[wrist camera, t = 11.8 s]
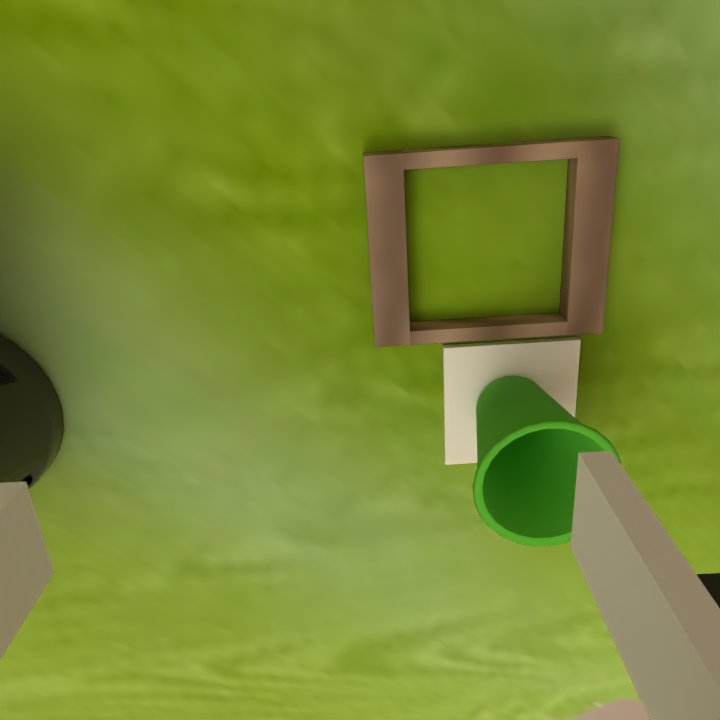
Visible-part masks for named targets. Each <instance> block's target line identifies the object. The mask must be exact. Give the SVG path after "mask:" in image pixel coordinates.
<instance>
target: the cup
mask: <svg viewBox="0 0 720 720" xmlns="http://www.w3.org/2000/svg"><path fill="white" fill-rule="evenodd" d="M476 431H477V465H478V468H477V470H476V473H475V478H474V483H473V495H474V503H475V505H476V508H477V510H478V513H479V515H480V516H481V518H482V519H483V520H484V521H485V523H486V524H487V525H488V527H490V528H491V529H492V530H494V531H495V532H496V533H498V534H499V535H500V536H502V537H504V538H506V539H508V540H511V541H513V542H516V543H518V544H524V545H529V546H553V545H557V544H562V543H567V542H570V541H571V535H572V523H573V512H574V500H575V488H576V477H577V465H578V453H581V452H600V451H612V452H613V454H614V455H615V457H616V458H617V460H618V461H619V463H620V464H621V462H620V459H619V455H618V453H617V452H616V450H615V449H614V447H613V446H612V444H611V442H610V441H609V440H608V439H606V438H605V437H604V436H603V435H602V434H600V433H599V432H598V431H597V430H595V429H592V428H590V427H588V426H586V425H584V424H582V423H580V422H579V421H578V420H577V419H576V418H575V417H573V416H572V415H571V414H570V413H569V412H568V411H567V410H566V409H564V408H563V407H562V406H561V405H560V404H559V403H558V402H556V401H555V400H554V399H553V398H552V397H551V396H550V395H549V394H547V393H546V392H545V391H544V390H543V389H542V388H541V387H540V386H538V385H537V384H536V383H535V382H534V381H532V380H530V379H528V378H525V377H520V376H506V377H502V378H499V379H497V380H495V381H493V382H491V383H490V384H489V385H488V386H486V388H485V389H484V390H483V391H482V393H481V394H480V396H479V398H478V400H477V405H476Z"/></svg>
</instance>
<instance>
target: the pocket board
mask: <svg viewBox="0 0 720 720" xmlns="http://www.w3.org/2000/svg"><path fill="white" fill-rule="evenodd" d="M618 148H619V138H615V137H610V136H602V137H587V138H573V139H558V140H544V141H529V142H514V143H500V144H485V145H471V146H456V147H442V148H427V149H413V150H398V151H384V152H369V153H363V157H364V174H365V190H366V206H367V223H368V239H369V255H370V272H371V288H372V305H373V321H374V337H375V347H382V346H399V345H415V344H431V343H447V342H464V341H480V340H496V339H513V338H529V337H545V336H561V335H578V334H594V333H602V331H603V320H604V308H605V297H606V285H607V274H608V262H609V251H610V240H611V228H612V217H613V205H614V194H615V182H616V171H617V159H618ZM554 159H568V172H567V189H566V206H565V223H564V240H563V257H562V274H561V291H560V308H559V313H543V314H527V315H511V316H495V317H479V318H463V319H446V320H430V321H414V322H409V296H408V270H407V244H406V217H405V191H404V170H408V169H422V168H437V167H452V166H466V165H481V164H496V163H510V162H525V161H540V160H554Z"/></svg>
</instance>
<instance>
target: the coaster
mask: <svg viewBox="0 0 720 720" xmlns="http://www.w3.org/2000/svg"><path fill="white" fill-rule="evenodd" d="M580 343H581V340H580V338H579V337H568V338H551V339H535V340H519V341H502V342H486V343H470V344H453V345H443V402H444V461H445V465H448V464H465V463H477V431H476V405H477V400H478V398H479V396H480V394H481V393H482V391H483V390H484V389H485V388H486V386H488V385H489V384H490V383H491V382H493V381H495V380H497V379H499V378H502V377H506V376H520V377H525V378H528V379H530V380H532V381H534V382H535V383H536V384H537V385H538V386H540V387H541V388H542V389H543V390H544V391H545V392H546V393H547V394H549V395H550V396H551V397H552V398H553V399H554V400H555V401H556V402H558V403H559V404H560V405H561V406H562V407H563V408H564V409H566V410H567V411H568V412H569V413H570V414H571V415H572V416H573V417H575V411H576V398H577V384H578V371H579V357H580Z"/></svg>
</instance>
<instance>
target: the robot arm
mask: <svg viewBox="0 0 720 720" xmlns="http://www.w3.org/2000/svg"><path fill="white" fill-rule="evenodd" d="M62 433H63V420H62V413H61V409H60V405H59V402H58V399H57V396H56V394H55V392H54V389H53V387H52V386H51V384H50V382H49V380H48V379H47V377H46V376H45V374H44V373H43V372H42V371H41V369H40V368H39V367H38V366H37V365H36V363H35V362H34V361H33V360H32V359H31V358H30V357H29V356H28V355H27V354H25V353H24V352H23V351H22V350H21V349H19V348H18V347H17V346H16V345H14V344H13V343H11V342H10V341H8V340H7V339H5V338H3V337H2V336H0V659H1V658H2V656H3V654H4V653H5V651H6V650H7V648H8V646H9V645H10V643H11V642H12V640H13V638H14V637H15V635H16V634H17V632H18V630H19V629H20V627H21V625H22V624H23V622H24V621H25V619H26V617H27V616H28V614H29V613H30V611H31V609H32V608H33V606H34V605H35V603H36V601H37V600H38V598H39V596H40V595H41V593H42V592H43V590H44V588H45V587H46V585H47V584H48V582H49V580H50V579H51V577H52V576H53V574H54V570H53V566H52V563H51V560H50V557H49V554H48V550H47V547H46V544H45V541H44V538H43V534H42V531H41V528H40V525H39V521H38V518H37V515H36V512H35V509H34V505H33V502H32V499H31V496H30V493H29V489H30V488H31V487H32V486H33V485H34V484H35V483H36V482H37V481H38V480H39V478H40V477H41V476H42V475H43V474H44V472H45V471H46V470H47V469H48V467H49V466H50V465H51V464H52V462H53V460H54V459H55V457H56V455H57V453H58V450H59V448H60V444H61V440H62ZM571 549H572V552H573V554H574V556H575V558H576V560H577V562H578V565H579V567H580V569H581V571H582V573H583V576H584V578H585V580H586V582H587V584H588V587H589V589H590V591H591V593H592V595H593V597H594V600H595V602H596V604H597V606H598V608H599V611H600V613H601V615H602V617H603V619H604V622H605V624H606V626H607V628H608V630H609V632H610V635H611V637H612V639H613V641H614V643H615V646H616V648H617V650H618V652H619V654H620V657H621V659H622V661H623V663H624V665H625V667H626V670H627V672H628V674H629V676H630V678H631V681H632V683H633V685H634V687H635V689H636V692H637V694H638V696H639V698H640V700H641V702H642V705H643V707H644V709H645V711H646V713H647V716H648V718H649V720H720V573H715V574H696V573H695V572H694V570H693V569H692V567H691V566H690V564H689V563H688V562H687V560H686V559H685V557H684V556H683V554H682V553H681V551H680V550H679V548H678V547H677V546H676V544H675V543H674V541H673V540H672V538H671V537H670V535H669V534H668V532H667V531H666V530H665V528H664V527H663V525H662V524H661V522H660V521H659V519H658V518H657V516H656V515H655V514H654V512H653V511H652V509H651V508H650V506H649V505H648V503H647V502H646V500H645V499H644V498H643V496H642V495H641V493H640V492H639V490H638V489H637V487H636V486H635V484H634V483H633V482H632V480H631V479H630V477H629V476H628V474H627V473H626V471H625V470H624V468H623V467H622V466H621V464H620V463H619V461H618V460H617V458H616V457H615V455H614V454H613V452H612V451H600V452H581V453H578V465H577V477H576V488H575V500H574V512H573V523H572V535H571Z"/></svg>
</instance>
